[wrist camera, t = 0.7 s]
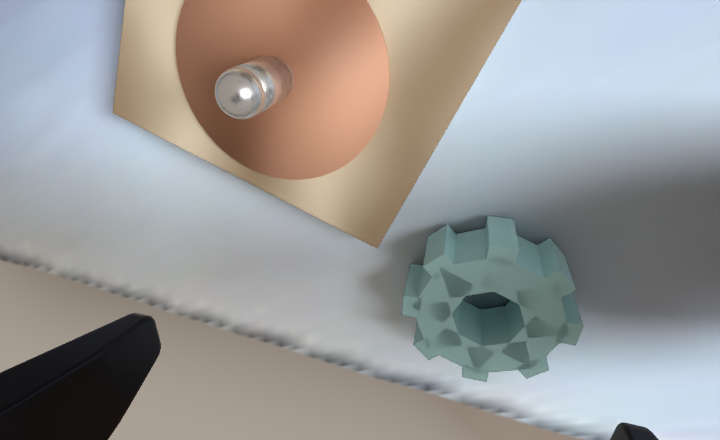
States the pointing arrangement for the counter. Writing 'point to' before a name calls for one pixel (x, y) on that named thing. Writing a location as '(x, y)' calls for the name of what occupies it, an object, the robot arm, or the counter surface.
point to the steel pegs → (253, 86)
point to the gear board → (311, 92)
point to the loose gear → (500, 324)
